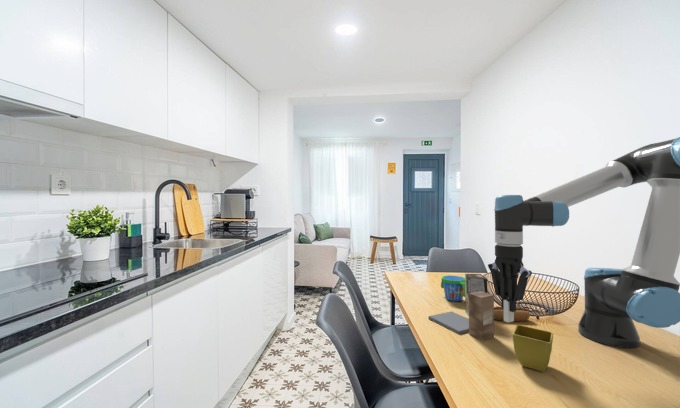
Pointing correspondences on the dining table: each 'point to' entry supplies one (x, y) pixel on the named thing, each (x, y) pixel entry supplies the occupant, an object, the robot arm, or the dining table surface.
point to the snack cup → (453, 287)
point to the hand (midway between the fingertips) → (508, 320)
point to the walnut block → (481, 315)
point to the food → (519, 315)
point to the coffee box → (474, 287)
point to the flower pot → (532, 347)
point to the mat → (452, 321)
